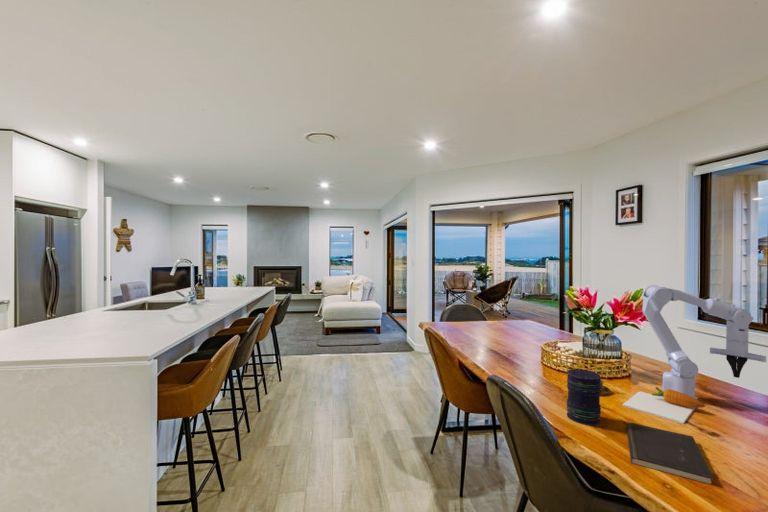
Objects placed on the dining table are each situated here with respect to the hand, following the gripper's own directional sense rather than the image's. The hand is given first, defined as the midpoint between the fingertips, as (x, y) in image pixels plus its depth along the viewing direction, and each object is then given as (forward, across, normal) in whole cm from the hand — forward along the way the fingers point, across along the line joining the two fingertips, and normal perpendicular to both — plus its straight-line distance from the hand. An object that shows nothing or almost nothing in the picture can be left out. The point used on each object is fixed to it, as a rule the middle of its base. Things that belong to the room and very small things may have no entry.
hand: (736, 376), depth 128 cm
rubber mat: (+10, +18, +25) cm, 32 cm away
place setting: (+11, +41, +31) cm, 52 cm away
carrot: (+8, +6, +19) cm, 22 cm away
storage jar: (+11, +31, +57) cm, 66 cm away
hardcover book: (+11, +9, +61) cm, 63 cm away
